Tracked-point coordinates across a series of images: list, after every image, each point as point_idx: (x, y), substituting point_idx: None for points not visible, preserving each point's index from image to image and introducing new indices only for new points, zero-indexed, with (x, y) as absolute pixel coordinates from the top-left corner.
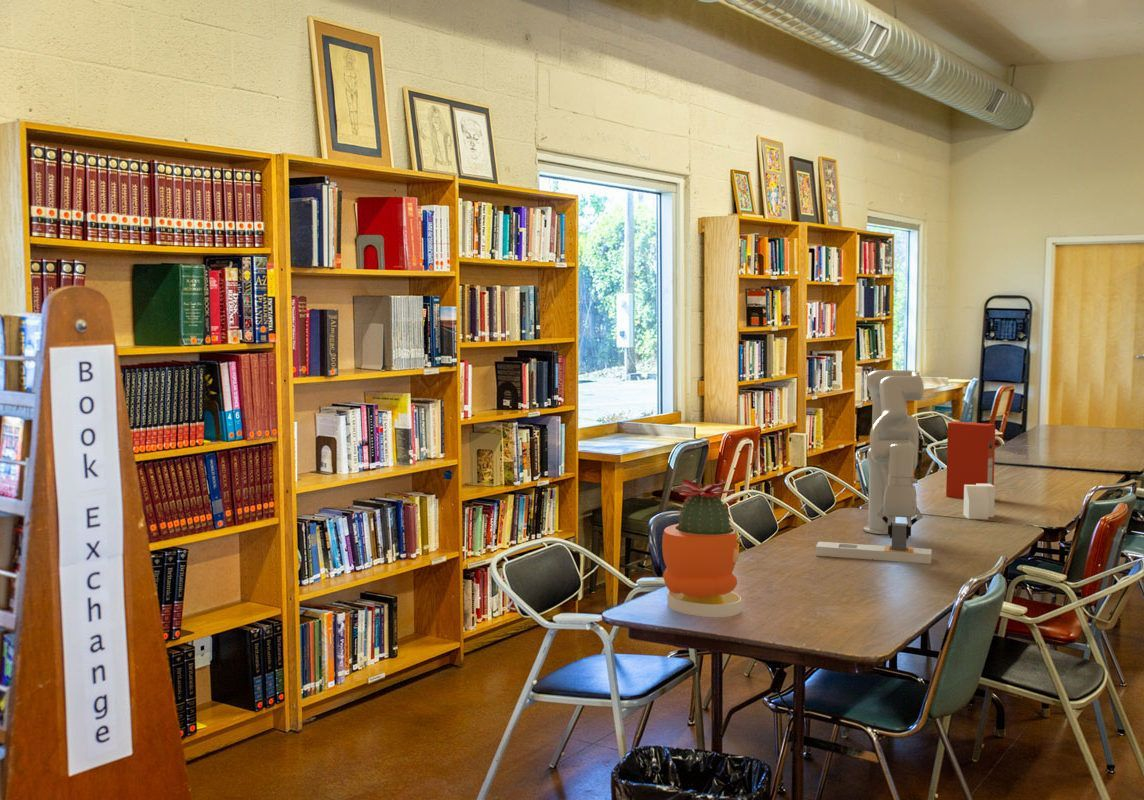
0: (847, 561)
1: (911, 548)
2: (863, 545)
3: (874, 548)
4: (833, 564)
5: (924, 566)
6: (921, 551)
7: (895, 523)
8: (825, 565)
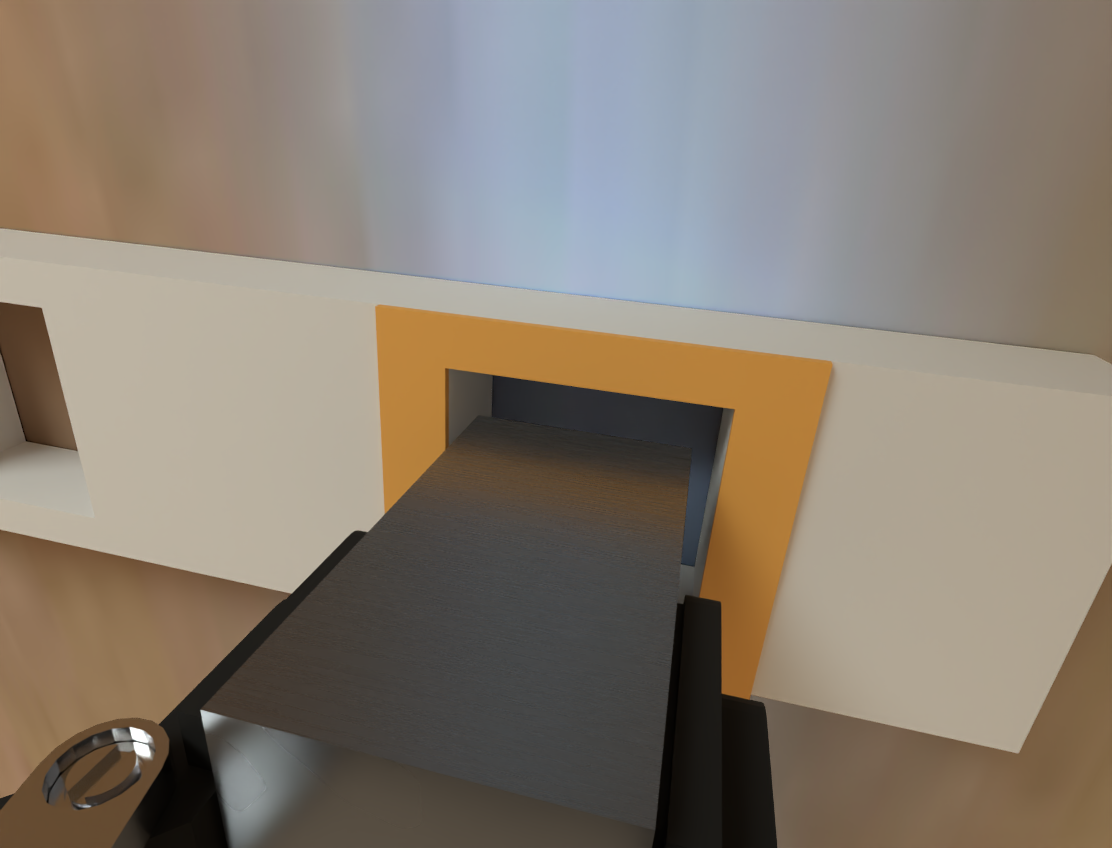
0: (154, 614)
1: (773, 466)
2: (109, 334)
3: (268, 491)
4: (98, 706)
5: (849, 759)
6: (909, 598)
7: (287, 792)
8: (64, 732)
